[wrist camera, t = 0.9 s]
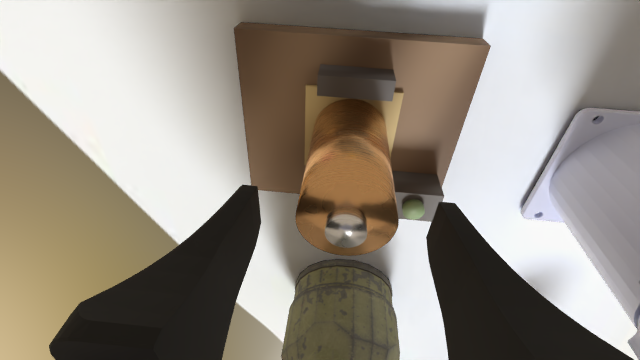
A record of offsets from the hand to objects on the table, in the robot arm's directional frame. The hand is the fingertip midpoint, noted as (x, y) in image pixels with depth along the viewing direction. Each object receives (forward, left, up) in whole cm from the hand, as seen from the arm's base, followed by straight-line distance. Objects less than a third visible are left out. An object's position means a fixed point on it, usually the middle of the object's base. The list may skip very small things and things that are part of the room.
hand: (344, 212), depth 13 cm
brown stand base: (0, 0, -8) cm, 8 cm away
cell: (0, 0, -6) cm, 6 cm away
